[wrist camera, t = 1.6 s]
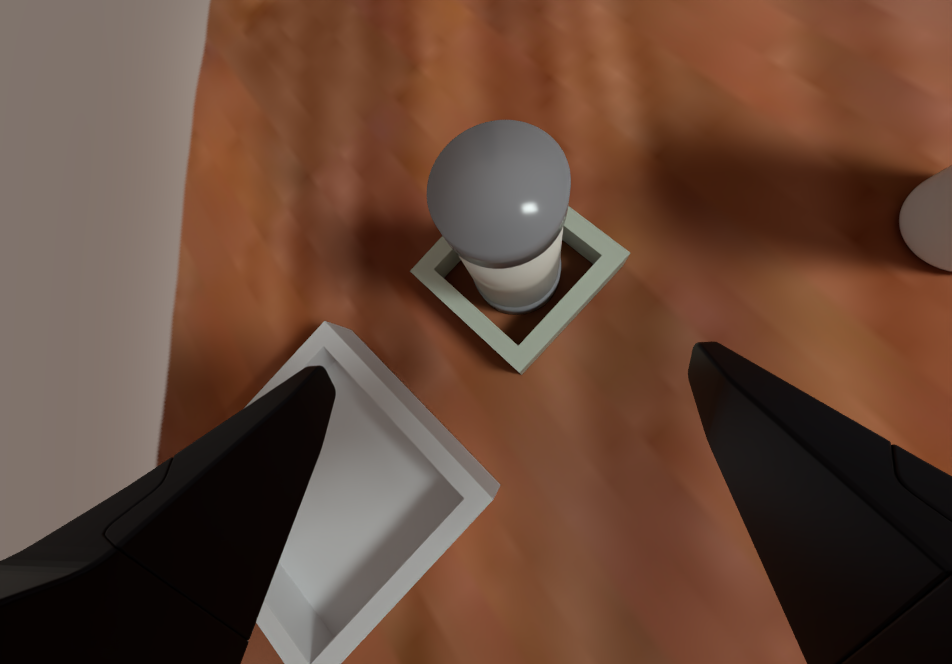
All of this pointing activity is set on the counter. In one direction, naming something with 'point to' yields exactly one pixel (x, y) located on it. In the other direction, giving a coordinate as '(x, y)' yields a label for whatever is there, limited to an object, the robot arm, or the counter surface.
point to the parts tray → (365, 505)
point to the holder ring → (605, 266)
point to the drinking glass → (930, 220)
